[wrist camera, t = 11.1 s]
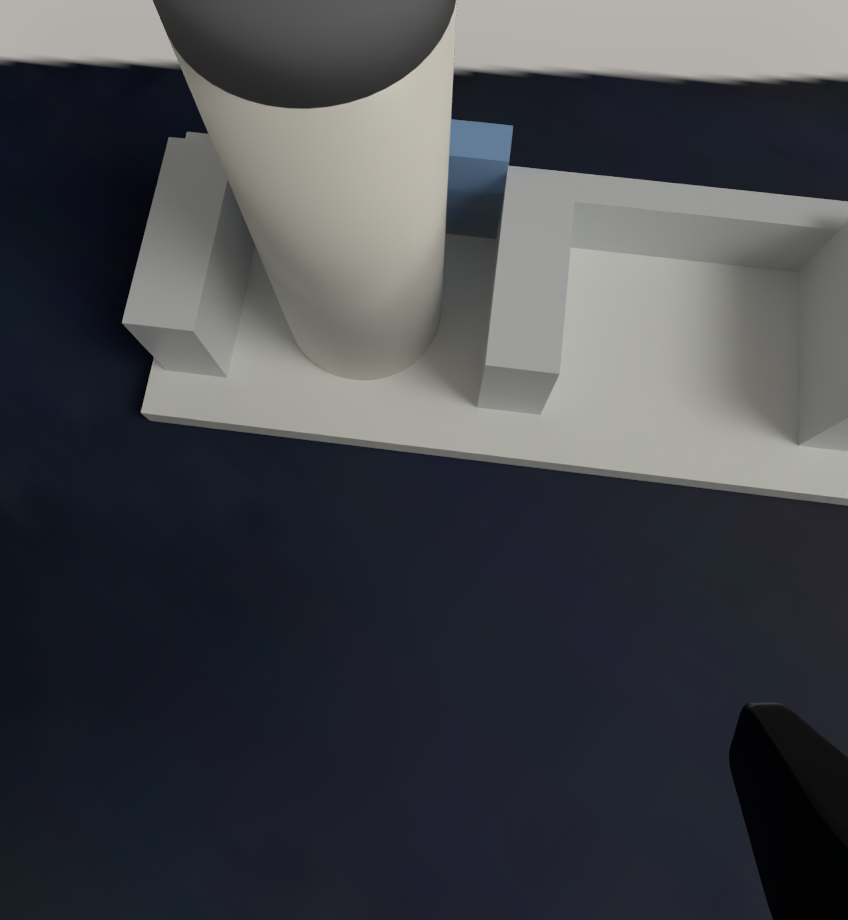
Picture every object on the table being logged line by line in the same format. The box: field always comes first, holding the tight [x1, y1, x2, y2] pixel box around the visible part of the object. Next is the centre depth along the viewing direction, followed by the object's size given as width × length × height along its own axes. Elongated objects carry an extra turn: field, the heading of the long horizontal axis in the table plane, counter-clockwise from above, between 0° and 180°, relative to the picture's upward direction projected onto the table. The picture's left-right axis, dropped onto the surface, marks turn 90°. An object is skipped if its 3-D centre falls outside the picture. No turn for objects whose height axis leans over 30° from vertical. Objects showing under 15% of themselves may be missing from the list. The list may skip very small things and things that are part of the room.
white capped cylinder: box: [153, 0, 457, 380], centre depth 17 cm, size 5×5×14 cm
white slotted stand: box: [122, 119, 848, 506], centre depth 22 cm, size 9×23×5 cm, turn 83°
